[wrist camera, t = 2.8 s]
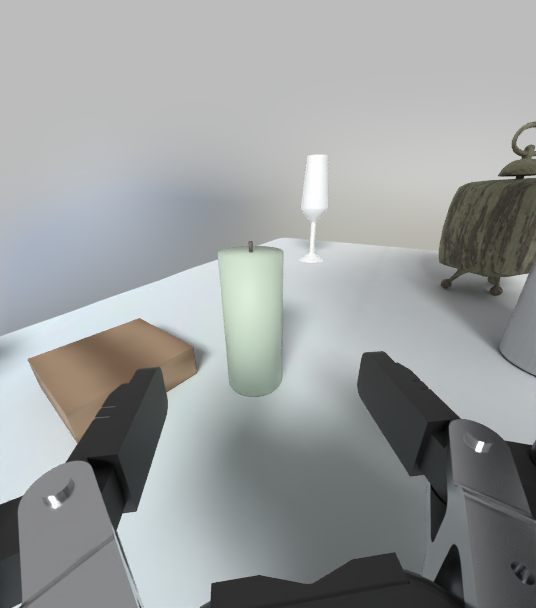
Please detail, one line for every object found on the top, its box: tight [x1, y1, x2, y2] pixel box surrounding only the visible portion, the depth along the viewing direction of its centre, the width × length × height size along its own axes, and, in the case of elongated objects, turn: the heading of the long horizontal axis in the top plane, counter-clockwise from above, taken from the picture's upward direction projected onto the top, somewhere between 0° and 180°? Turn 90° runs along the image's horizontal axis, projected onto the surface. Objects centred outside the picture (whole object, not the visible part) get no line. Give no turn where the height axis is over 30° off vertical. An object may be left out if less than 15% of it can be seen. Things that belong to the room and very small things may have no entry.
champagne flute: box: [299, 155, 328, 263], centre depth 63 cm, size 7×7×24 cm
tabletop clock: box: [439, 122, 536, 295], centre depth 40 cm, size 14×9×25 cm, turn 103°
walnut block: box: [28, 318, 197, 443], centre depth 24 cm, size 10×10×3 cm
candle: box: [218, 241, 283, 397], centre depth 22 cm, size 5×5×13 cm
